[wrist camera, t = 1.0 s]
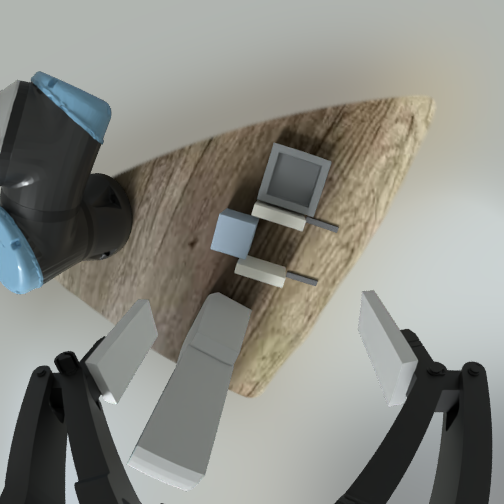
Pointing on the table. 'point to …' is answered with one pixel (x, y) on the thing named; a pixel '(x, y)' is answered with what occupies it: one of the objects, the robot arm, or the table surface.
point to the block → (234, 233)
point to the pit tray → (294, 179)
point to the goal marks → (322, 225)
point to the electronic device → (193, 397)
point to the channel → (266, 269)
